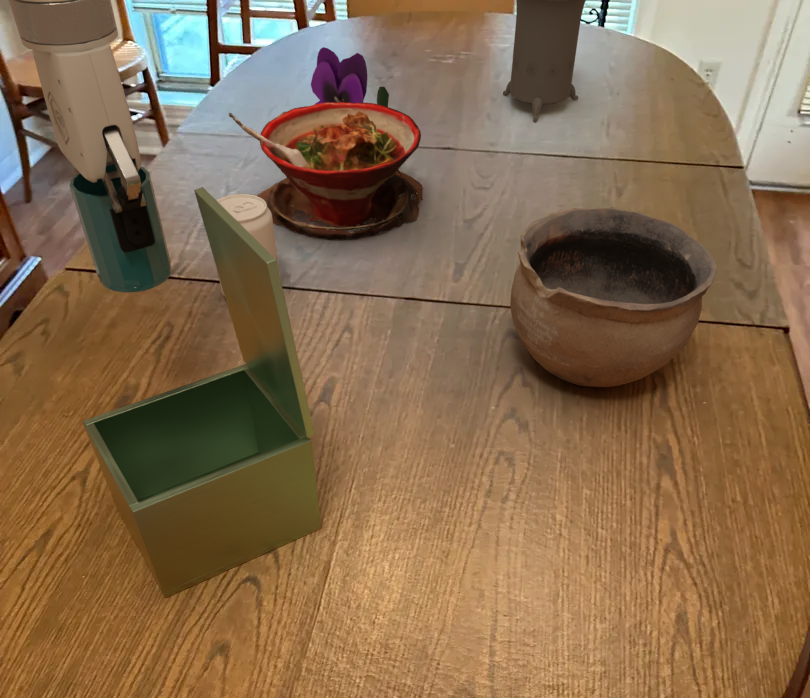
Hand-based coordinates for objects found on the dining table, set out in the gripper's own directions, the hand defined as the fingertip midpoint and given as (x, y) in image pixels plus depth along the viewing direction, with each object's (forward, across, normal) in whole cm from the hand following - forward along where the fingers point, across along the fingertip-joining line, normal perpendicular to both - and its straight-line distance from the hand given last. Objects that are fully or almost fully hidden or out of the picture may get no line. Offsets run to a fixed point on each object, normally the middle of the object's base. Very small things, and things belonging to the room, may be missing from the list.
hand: (123, 229), depth 76 cm
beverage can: (+22, -17, +19) cm, 33 cm away
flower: (+22, -54, +58) cm, 82 cm away
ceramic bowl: (+22, +21, +47) cm, 56 cm away
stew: (+22, -30, +40) cm, 55 cm away
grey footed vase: (+21, -47, +96) cm, 109 cm away
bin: (+22, +20, -3) cm, 29 cm away
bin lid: (+1, +20, +4) cm, 20 cm away
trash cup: (+5, 0, 0) cm, 5 cm away
